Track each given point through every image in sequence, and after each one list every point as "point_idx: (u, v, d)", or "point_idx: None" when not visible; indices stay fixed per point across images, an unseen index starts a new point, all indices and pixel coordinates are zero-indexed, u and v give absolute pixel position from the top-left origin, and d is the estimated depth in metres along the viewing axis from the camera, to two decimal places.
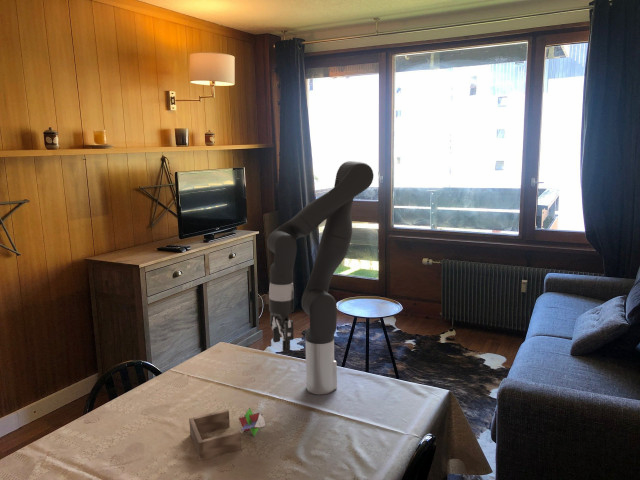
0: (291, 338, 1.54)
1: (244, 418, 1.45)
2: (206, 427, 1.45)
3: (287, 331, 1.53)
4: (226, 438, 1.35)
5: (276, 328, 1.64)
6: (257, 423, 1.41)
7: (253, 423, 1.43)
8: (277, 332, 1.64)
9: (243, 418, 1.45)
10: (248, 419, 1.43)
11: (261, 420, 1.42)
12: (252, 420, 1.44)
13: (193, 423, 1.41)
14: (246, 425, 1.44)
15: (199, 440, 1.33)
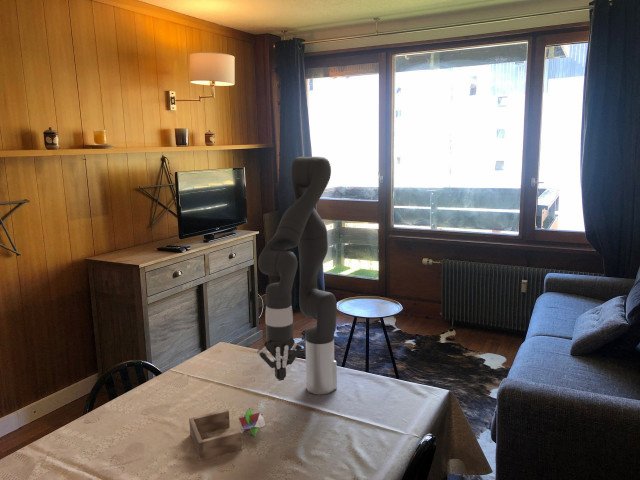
0: None
1: (244, 418, 1.45)
2: (206, 427, 1.45)
3: None
4: (226, 438, 1.35)
5: None
6: (257, 423, 1.41)
7: (253, 423, 1.43)
8: None
9: (243, 418, 1.45)
10: (248, 419, 1.43)
11: (261, 420, 1.42)
12: (252, 420, 1.44)
13: (193, 423, 1.41)
14: (246, 425, 1.43)
15: (199, 440, 1.33)
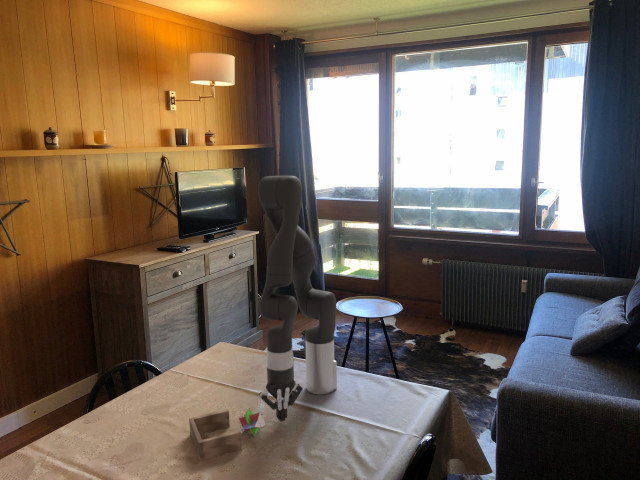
0: None
1: (244, 418, 1.45)
2: (206, 427, 1.45)
3: None
4: (226, 438, 1.35)
5: None
6: (257, 423, 1.41)
7: (253, 423, 1.43)
8: None
9: (243, 418, 1.45)
10: (248, 419, 1.43)
11: (261, 420, 1.42)
12: (252, 420, 1.44)
13: (193, 423, 1.41)
14: (246, 425, 1.43)
15: (199, 440, 1.33)
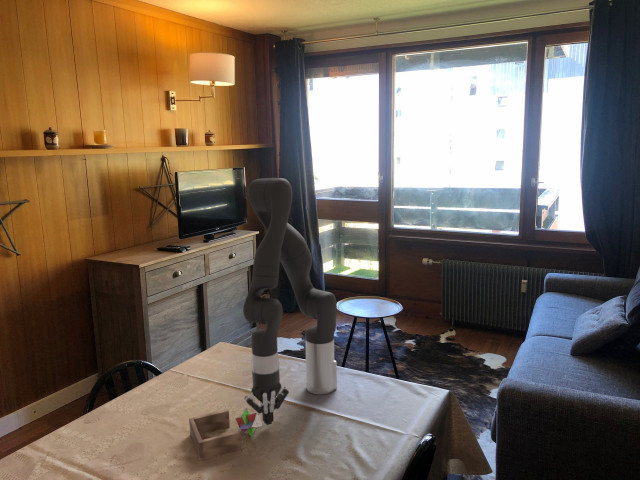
0: None
1: (241, 418, 1.44)
2: (206, 427, 1.45)
3: None
4: (226, 438, 1.35)
5: None
6: (254, 423, 1.41)
7: (250, 423, 1.43)
8: None
9: (240, 418, 1.44)
10: (245, 419, 1.43)
11: (258, 420, 1.42)
12: (249, 420, 1.44)
13: (193, 423, 1.41)
14: (242, 426, 1.43)
15: (199, 440, 1.33)
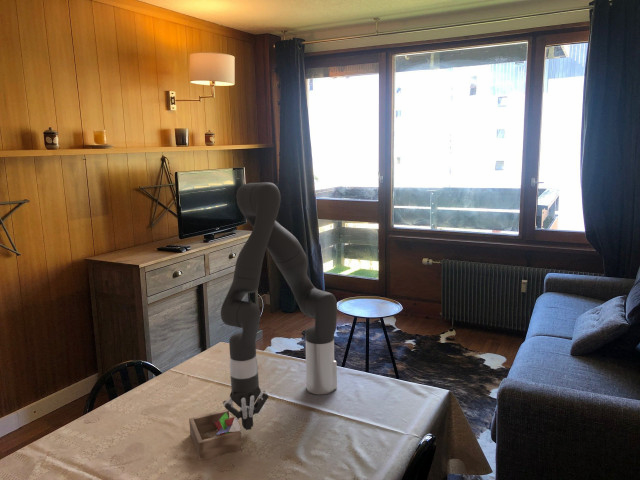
0: None
1: (219, 422, 1.43)
2: (206, 427, 1.45)
3: None
4: (226, 438, 1.35)
5: None
6: (231, 428, 1.39)
7: (228, 427, 1.41)
8: None
9: (219, 422, 1.43)
10: (223, 423, 1.41)
11: (236, 425, 1.40)
12: (227, 424, 1.42)
13: (193, 423, 1.41)
14: (221, 430, 1.42)
15: (199, 440, 1.33)
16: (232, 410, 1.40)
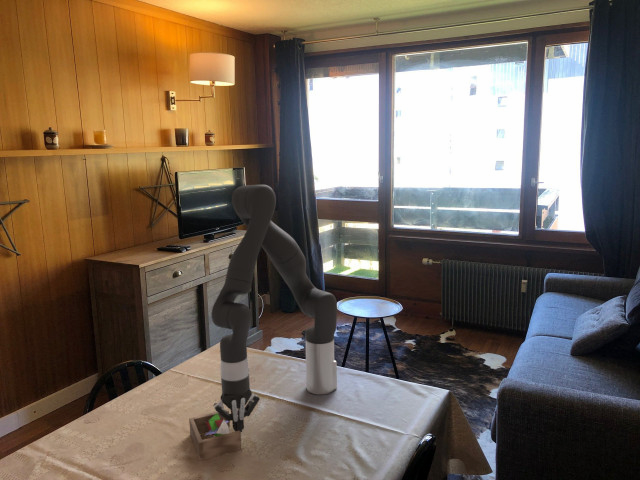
0: None
1: None
2: (206, 427, 1.45)
3: None
4: (226, 438, 1.35)
5: None
6: (219, 430, 1.38)
7: (217, 429, 1.40)
8: None
9: None
10: (213, 424, 1.41)
11: (224, 427, 1.39)
12: (217, 426, 1.42)
13: (193, 423, 1.41)
14: (211, 430, 1.41)
15: (199, 440, 1.33)
16: (222, 412, 1.39)
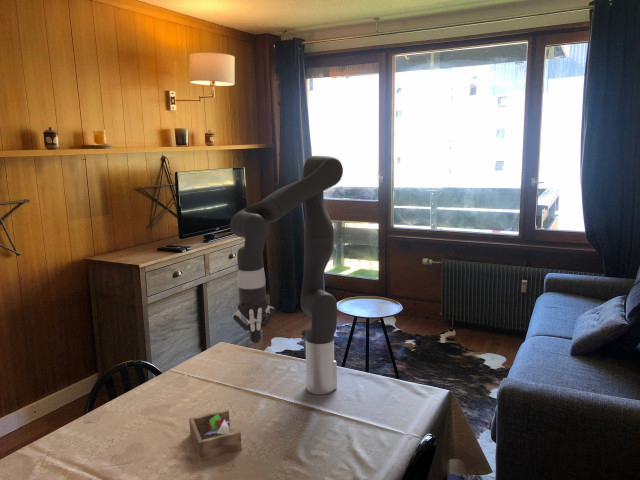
0: None
1: None
2: (206, 427, 1.45)
3: None
4: (226, 438, 1.35)
5: None
6: (220, 429, 1.38)
7: (218, 429, 1.40)
8: None
9: (210, 422, 1.43)
10: (213, 424, 1.41)
11: (225, 427, 1.39)
12: (218, 426, 1.42)
13: (193, 423, 1.41)
14: (211, 430, 1.41)
15: (199, 440, 1.33)
16: (240, 322, 1.43)
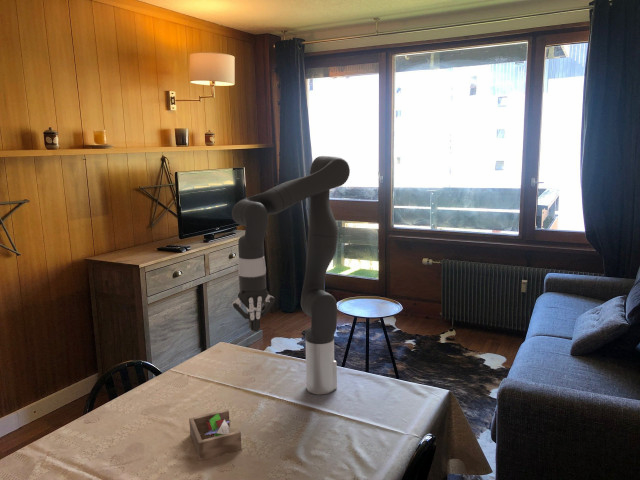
0: None
1: None
2: (206, 427, 1.45)
3: None
4: (226, 438, 1.35)
5: None
6: (220, 430, 1.38)
7: (218, 429, 1.40)
8: None
9: (210, 423, 1.43)
10: (213, 424, 1.41)
11: (225, 427, 1.39)
12: (218, 426, 1.42)
13: (193, 423, 1.41)
14: (211, 430, 1.41)
15: (199, 440, 1.33)
16: (240, 310, 1.43)
